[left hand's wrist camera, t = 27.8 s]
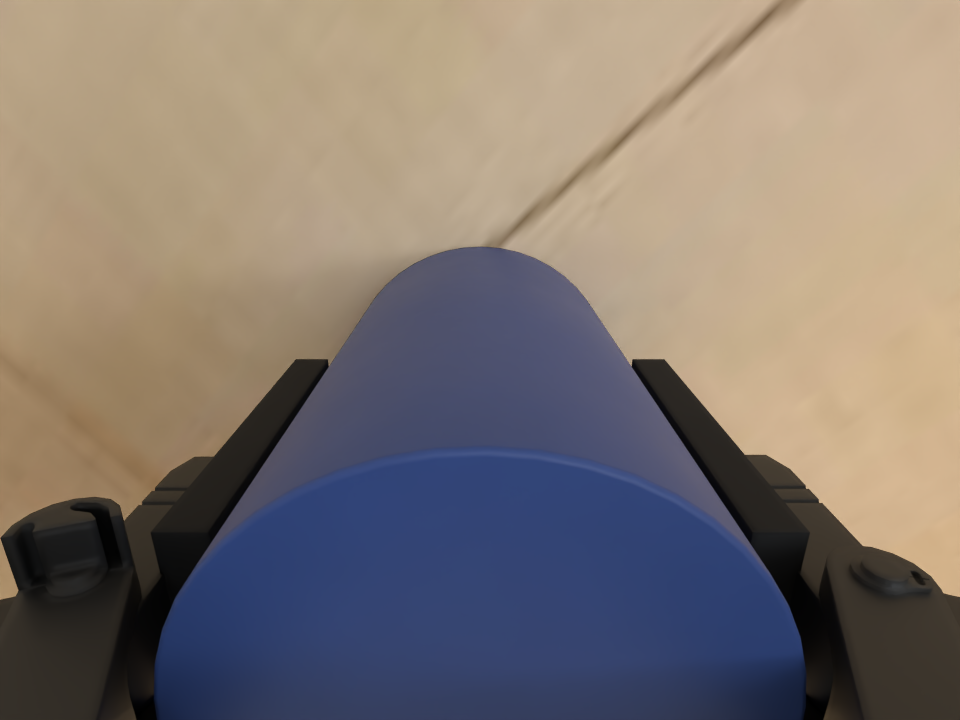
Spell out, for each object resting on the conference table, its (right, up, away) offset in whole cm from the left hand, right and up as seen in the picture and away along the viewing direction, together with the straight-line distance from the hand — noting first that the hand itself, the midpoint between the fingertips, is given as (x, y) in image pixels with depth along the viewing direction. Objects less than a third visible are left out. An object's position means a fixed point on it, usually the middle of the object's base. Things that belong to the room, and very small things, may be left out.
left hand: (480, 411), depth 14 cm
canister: (0, +1, +2) cm, 2 cm away
